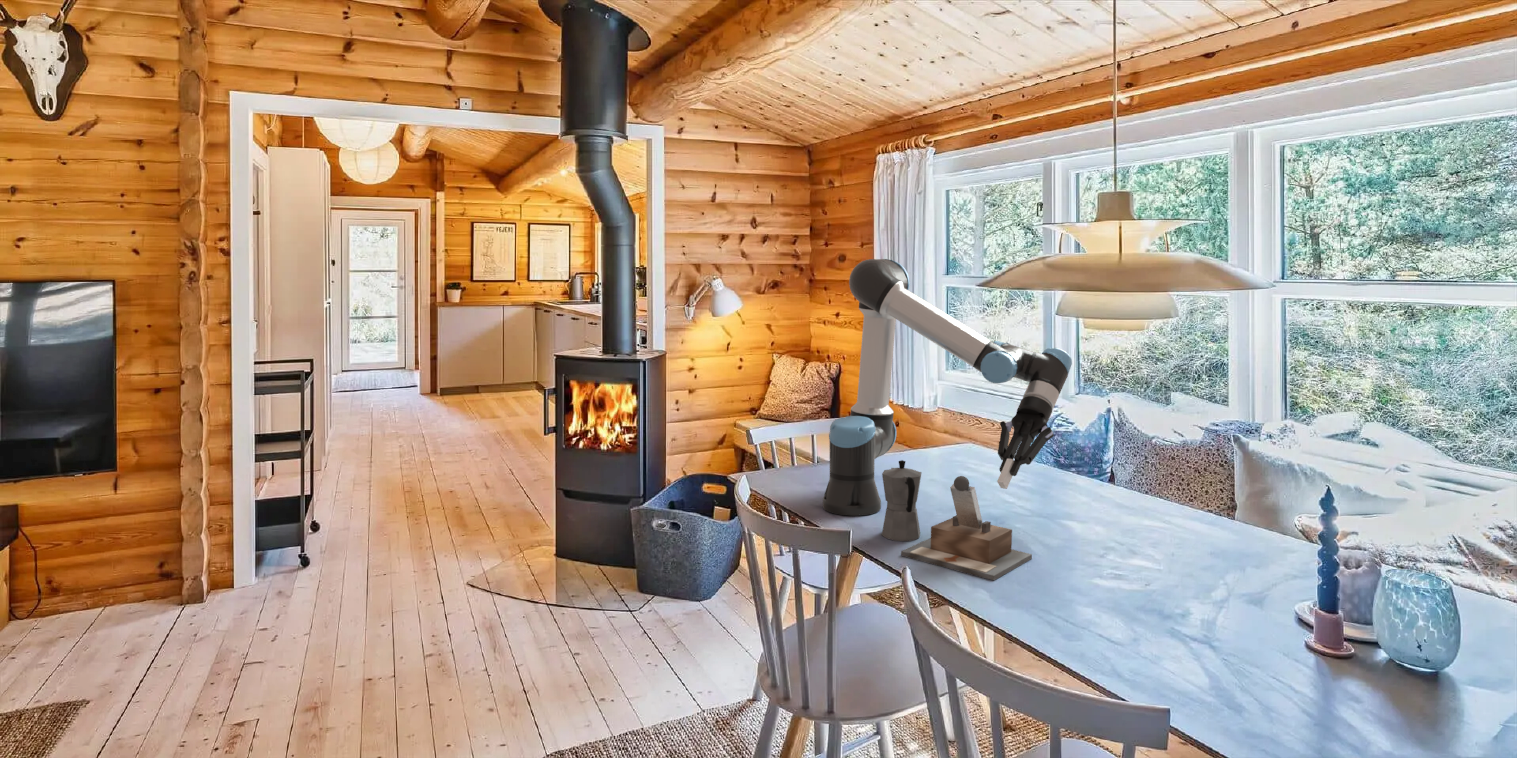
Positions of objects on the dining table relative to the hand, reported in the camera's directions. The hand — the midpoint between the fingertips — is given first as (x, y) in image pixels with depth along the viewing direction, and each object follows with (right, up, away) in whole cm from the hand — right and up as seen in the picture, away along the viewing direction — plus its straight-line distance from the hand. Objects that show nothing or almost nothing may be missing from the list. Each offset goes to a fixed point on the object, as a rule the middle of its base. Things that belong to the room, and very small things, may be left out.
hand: (1001, 485), depth 189 cm
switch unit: (-11, -14, -10) cm, 20 cm away
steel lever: (-9, -8, -9) cm, 15 cm away
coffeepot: (-22, -13, +4) cm, 26 cm away
